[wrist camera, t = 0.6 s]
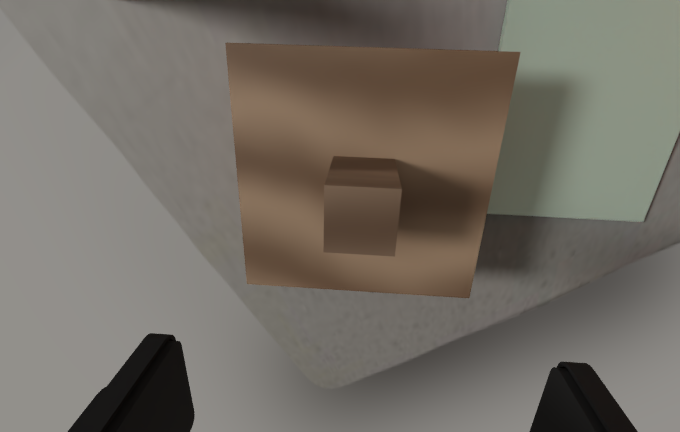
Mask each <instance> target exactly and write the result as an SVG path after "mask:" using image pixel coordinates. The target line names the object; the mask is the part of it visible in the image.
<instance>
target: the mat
mask: <svg viewBox="0 0 680 432" xmlns="http://www.w3.org/2000/svg"><path fill="white" fill-rule="evenodd" d="M498 51H508V52H521V53H520V58H519V63H518V67H517V72H516V77H515V82H514V87H513V91H512V96H511V101H510V106H509V110H508V115H507V120H506V125H505V129H504V134H503V139H502V144H501V149H500V153H499V158H498V163H497V168H496V172H495V177H494V182H493V187H492V191H491V196H490V201H489V206H488V211H487V214H503V215H522V216H541V217H559V218H578V219H597V220H616V221H635V222H643V221H644V219H645V216H646V214H647V211H648V209H649V206H650V204H651V201H652V199H653V197H654V194H655V192H656V189H657V187H658V184H659V182H660V179H661V177H662V174H663V172H664V169H665V167H666V164H667V162H668V159H669V157H670V154H671V152H672V150H673V147H674V145H675V142H676V140H677V137H678V135H679V132H680V0H507V5H506V11H505V16H504V22H503V27H502V32H501V38H500V43H499V48H498Z"/></svg>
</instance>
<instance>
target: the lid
mask: <svg viewBox="0 0 680 432" xmlns="http://www.w3.org/2000/svg"><path fill="white" fill-rule="evenodd" d="M520 53H521V52H508V51H476V50H443V49H411V48H379V47H347V46H315V45H283V44H251V43H226V54H227V65H228V76H229V87H230V99H231V110H232V121H233V132H234V143H235V154H236V166H237V177H238V188H239V199H240V210H241V222H242V233H243V244H244V255H245V266H246V277H247V284H256V285H272V286H287V287H303V288H318V289H334V290H349V291H365V292H381V293H396V294H412V295H427V296H443V297H458V298H469V296H470V292H471V287H472V282H473V277H474V273H475V268H476V263H477V258H478V253H479V249H480V244H481V239H482V234H483V230H484V225H485V220H486V215H487V211H488V206H489V201H490V196H491V191H492V187H493V182H494V177H495V172H496V168H497V163H498V158H499V153H500V149H501V144H502V139H503V134H504V129H505V125H506V120H507V115H508V110H509V106H510V101H511V96H512V91H513V87H514V82H515V77H516V72H517V67H518V63H519V58H520Z"/></svg>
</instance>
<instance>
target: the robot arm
mask: <svg viewBox="0 0 680 432" xmlns="http://www.w3.org/2000/svg"><path fill="white" fill-rule="evenodd" d="M193 421H194V408H193V403H192V397H191V392H190V387H189V382H188V377H187V371H186V366H185V361H184V356H183V350H182V345H181V343H180V341H176V340H175V337H174V336H173V335H167V334H148V335H147V336H146V337H145V338H144V339H143V341H142V342H141V343H140V345H139V346H138V347H137V348H136V350H135V351H134V352H133V353H132V355H131V356H130V357H129V359H128V360H127V361H126V362H125V364H124V365H123V366H122V368H121V369H120V371H119V372H118V373H117V374H116V375H115V377H114V378H113V379H112V380H111V382H110V383H109V385H108V386H107V387H105V388H104V389H102V390H101V391H100V392H99V393H98V394H97V395H96V396H95V398H94V399H93V400H92V401H91V403H90V404H89V405H88V407H87V408H86V409H85V410H84V412H83V413H82V414H81V415H80V417H79V418H78V419H77V420H76V422H75V423H74V424H73V426H72V427H71V428H70V429H69V431H68V432H190V430H191V428H192V425H193ZM530 432H637V430H636V429H635V427H634V426H633V425H632V423H631V422H630V420H629V419H628V418H627V416H626V415H625V413H624V412H623V410H622V409H621V408H620V406H619V405H618V403H617V402H616V401H615V399H614V398H613V396H612V395H611V394H610V392H609V391H608V389H607V388H606V386H605V385H604V384H603V382H602V381H601V380H600V378H599V377H598V375H597V374H596V372H595V371H594V370H593V369H592V367H591V366H590V365H588V364H587V363H573V362H560V363H559V364H558V366H557V368H555V367H554V368H552V369H551V371H550V374H549V377H548V380H547V383H546V385H545V388H544V391H543V394H542V397H541V400H540V403H539V406H538V409H537V412H536V415H535V418H534V421H533V423H532V426H531V429H530Z"/></svg>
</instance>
